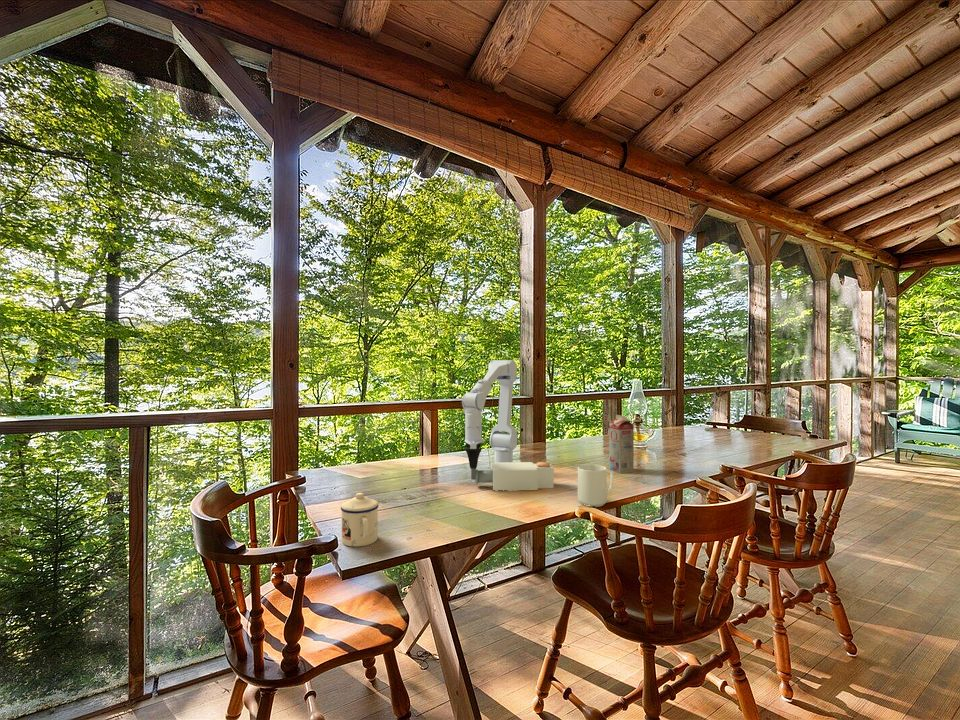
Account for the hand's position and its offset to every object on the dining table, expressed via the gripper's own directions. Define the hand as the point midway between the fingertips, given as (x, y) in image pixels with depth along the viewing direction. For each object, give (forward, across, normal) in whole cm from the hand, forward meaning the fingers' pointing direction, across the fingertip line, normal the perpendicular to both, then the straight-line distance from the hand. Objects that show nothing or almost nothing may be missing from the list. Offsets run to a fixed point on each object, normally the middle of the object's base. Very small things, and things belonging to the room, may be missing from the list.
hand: (473, 465), depth 166 cm
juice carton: (+7, +22, -59) cm, 63 cm away
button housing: (+7, +1, -17) cm, 19 cm away
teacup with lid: (+8, -49, +28) cm, 57 cm away
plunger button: (+3, +1, -25) cm, 25 cm away
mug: (+8, -18, -38) cm, 43 cm away
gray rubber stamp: (+6, 0, -5) cm, 8 cm away
